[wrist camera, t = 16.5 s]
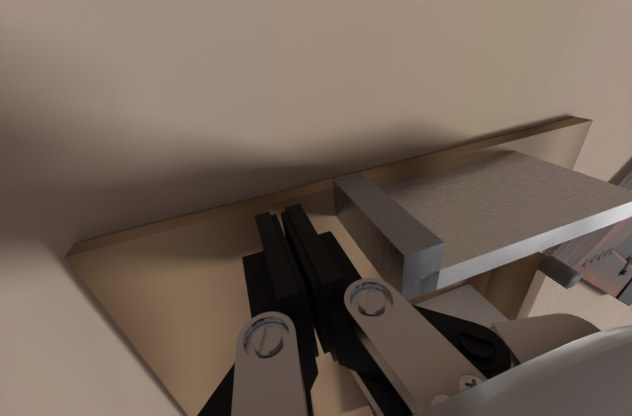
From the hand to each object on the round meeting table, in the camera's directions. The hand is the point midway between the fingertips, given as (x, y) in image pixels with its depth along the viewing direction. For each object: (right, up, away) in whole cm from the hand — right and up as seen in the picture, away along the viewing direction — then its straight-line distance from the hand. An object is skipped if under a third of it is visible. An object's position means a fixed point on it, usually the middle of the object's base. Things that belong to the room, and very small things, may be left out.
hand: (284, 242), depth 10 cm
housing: (+5, -6, +8) cm, 11 cm away
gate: (+6, +3, +2) cm, 7 cm away
